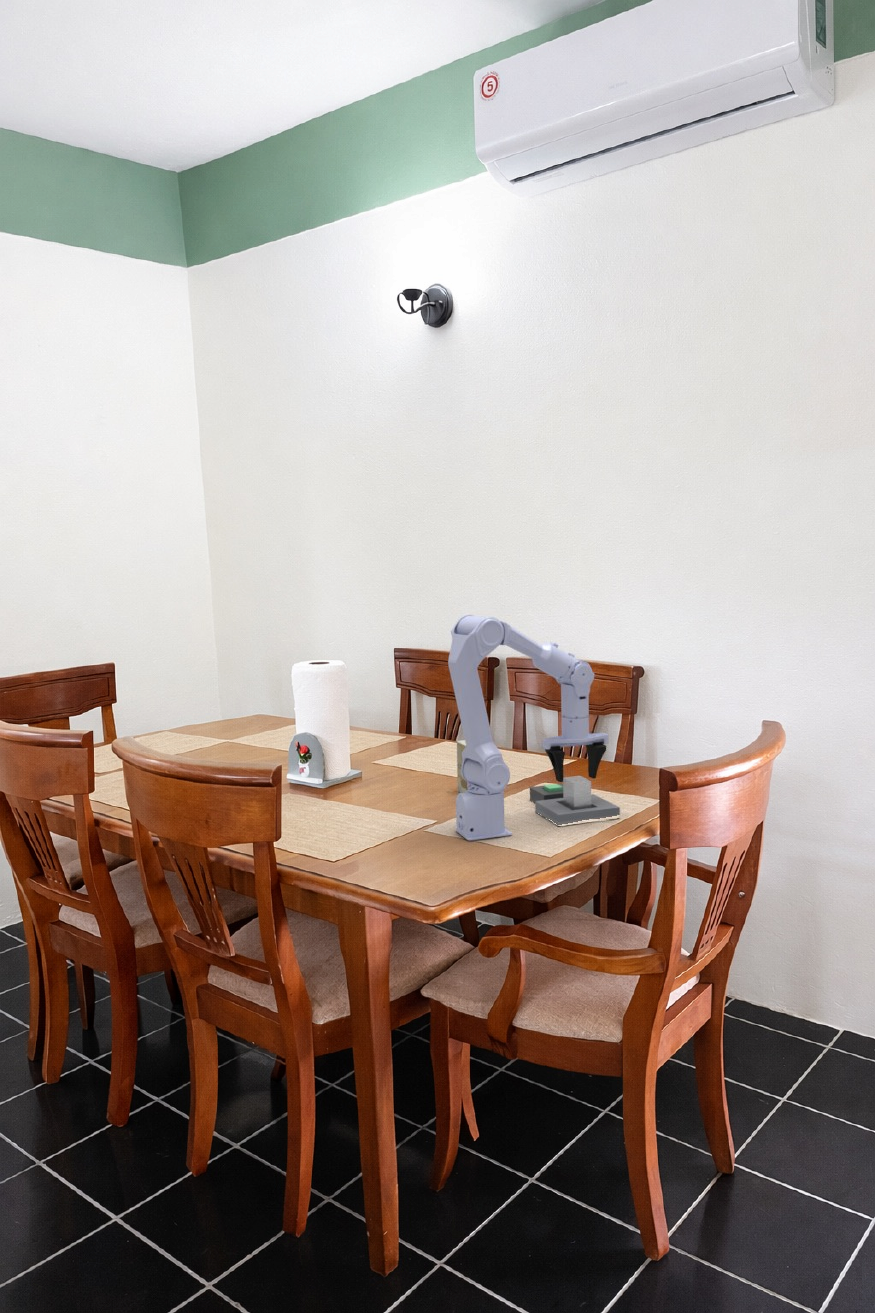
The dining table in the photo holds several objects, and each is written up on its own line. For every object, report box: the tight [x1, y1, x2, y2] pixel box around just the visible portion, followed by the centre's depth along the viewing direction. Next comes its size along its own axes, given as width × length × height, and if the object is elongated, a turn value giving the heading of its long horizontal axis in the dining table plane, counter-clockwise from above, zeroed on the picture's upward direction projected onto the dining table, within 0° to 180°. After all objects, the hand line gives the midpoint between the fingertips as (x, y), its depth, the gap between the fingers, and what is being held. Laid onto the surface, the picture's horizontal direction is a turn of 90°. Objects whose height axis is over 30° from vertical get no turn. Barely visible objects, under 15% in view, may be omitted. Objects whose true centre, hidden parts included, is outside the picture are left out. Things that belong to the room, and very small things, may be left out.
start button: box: [543, 783, 563, 792], centre depth 223 cm, size 3×3×2 cm
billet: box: [562, 775, 592, 810], centre depth 212 cm, size 4×5×7 cm
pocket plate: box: [534, 793, 621, 826], centre depth 212 cm, size 14×12×2 cm
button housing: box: [529, 783, 564, 803], centre depth 224 cm, size 8×8×3 cm
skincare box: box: [456, 739, 468, 793], centre depth 234 cm, size 6×4×12 cm
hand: (576, 779), depth 211 cm, fingers open, 7 cm apart
